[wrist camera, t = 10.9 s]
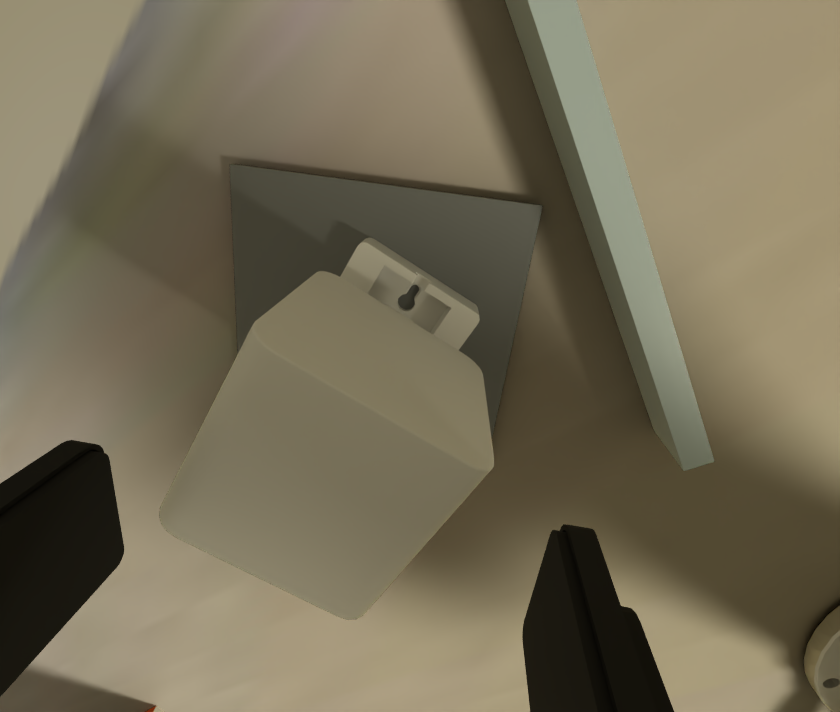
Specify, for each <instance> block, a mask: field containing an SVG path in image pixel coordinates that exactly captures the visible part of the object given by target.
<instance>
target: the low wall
mask: <svg viewBox="0 0 840 712" xmlns="http://www.w3.org/2000/svg"><path fill="white" fill-rule="evenodd" d="M505 2H506V5H507V8H508V11H509V14H510V17H511V19H512V22H513V25H514V28H515V31H516V34H517V37H518V40H519V43H520V45H521V48H522V51H523V54H524V57H525V60H526V63H527V66H528V69H529V71H530V74H531V77H532V80H533V83H534V86H535V89H536V92H537V95H538V97H539V100H540V103H541V106H542V109H543V112H544V115H545V118H546V120H547V123H548V126H549V129H550V132H551V135H552V138H553V141H554V144H555V146H556V149H557V152H558V155H559V158H560V161H561V164H562V167H563V170H564V172H565V175H566V178H567V181H568V184H569V187H570V190H571V193H572V196H573V198H574V201H575V204H576V207H577V210H578V213H579V216H580V219H581V222H582V224H583V227H584V230H585V233H586V236H587V239H588V242H589V245H590V248H591V250H592V253H593V256H594V259H595V262H596V265H597V268H598V271H599V274H600V276H601V279H602V282H603V285H604V288H605V291H606V294H607V297H608V299H609V302H610V305H611V308H612V311H613V314H614V317H615V320H616V323H617V325H618V328H619V331H620V334H621V337H622V340H623V343H624V346H625V349H626V351H627V354H628V357H629V360H630V363H631V366H632V369H633V372H634V375H635V377H636V380H637V383H638V386H639V389H640V392H641V395H642V398H643V401H644V403H645V406H646V409H647V412H648V415H649V418H650V421H651V424H652V427H653V429H654V432H655V433H656V434H657V436H658V437H659V438H660V440H661V441H662V443H663V444H664V445H665V447H666V448H667V449H668V451H669V452H670V453H671V455H672V456H673V457H674V459H675V460H676V461H677V463H678V464H679V465H680V467H681V468H682V470H683V471H686V470H690V469H693V468H696V467H699V466H702V465H706V464H709V463H712V462H715V461H714V458H713V454H712V451H711V448H710V444H709V441H708V438H707V434H706V431H705V428H704V424H703V421H702V418H701V414H700V411H699V408H698V404H697V401H696V398H695V394H694V391H693V388H692V384H691V381H690V378H689V374H688V371H687V368H686V364H685V361H684V358H683V354H682V351H681V348H680V344H679V341H678V338H677V334H676V331H675V328H674V324H673V321H672V318H671V314H670V311H669V308H668V304H667V301H666V298H665V294H664V291H663V288H662V284H661V281H660V278H659V274H658V271H657V268H656V264H655V261H654V258H653V254H652V251H651V248H650V244H649V241H648V238H647V234H646V231H645V228H644V224H643V221H642V218H641V214H640V211H639V208H638V204H637V201H636V197H635V194H634V191H633V187H632V184H631V181H630V177H629V174H628V171H627V167H626V164H625V161H624V157H623V154H622V151H621V147H620V144H619V141H618V137H617V134H616V131H615V127H614V124H613V121H612V117H611V114H610V111H609V107H608V104H607V101H606V97H605V94H604V91H603V87H602V84H601V81H600V77H599V74H598V71H597V67H596V64H595V61H594V57H593V54H592V51H591V47H590V44H589V41H588V37H587V34H586V31H585V27H584V24H583V21H582V17H581V14H580V11H579V7H578V4H577V1H576V0H505Z"/></svg>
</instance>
